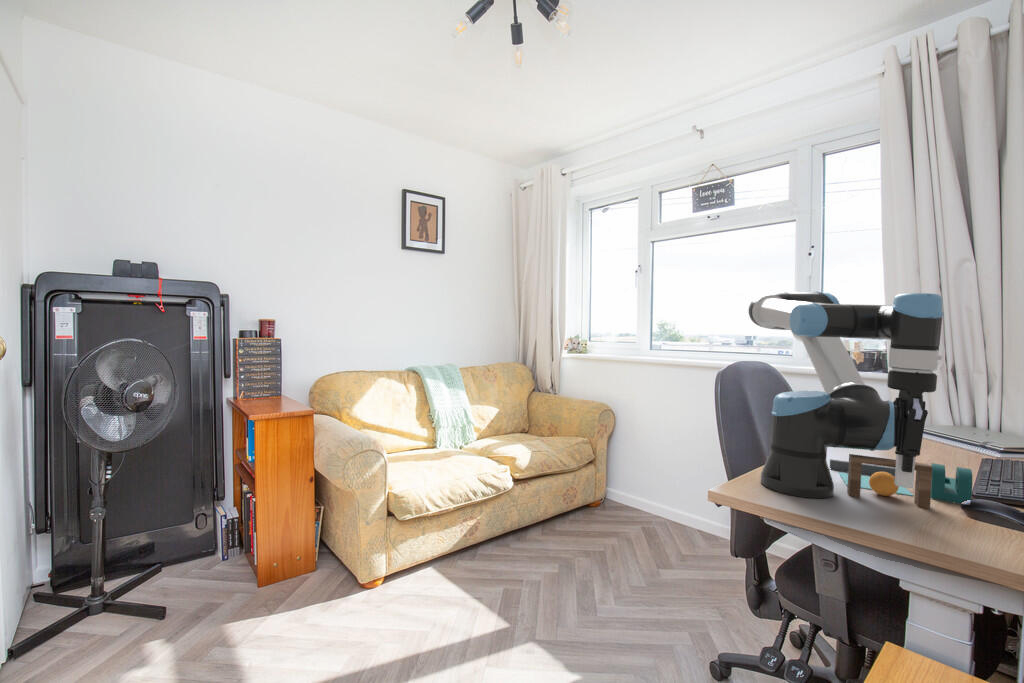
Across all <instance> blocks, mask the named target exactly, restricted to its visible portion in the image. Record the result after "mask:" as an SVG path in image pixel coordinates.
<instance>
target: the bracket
mask: <svg viewBox="0 0 1024 683" xmlns="http://www.w3.org/2000/svg"><path fill="white" fill-rule="evenodd" d="M930 466H932V483H931V498H933V499H932V500H936V499H938V500H937V501H941V500H943V501H942V502H946V501H948V502H947V503H952V502H955V503H954V504H957V503H959V505H962V504H961V503H962V502H964V501H967V500H971V501H972V498H973V497H972V496H973V471H972V468H967V467H966V468H965V467H960V466H959V467H958V466H957V467H956V469H955V470H956V471H955V478H953V477H950V476H949V477H948V476H946V464H940V463H939V464H938V463H935V462H934V463H933V462H932V463H931V464H930Z"/></svg>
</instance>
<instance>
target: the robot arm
mask: <svg viewBox="0 0 1024 683" xmlns="http://www.w3.org/2000/svg"><path fill="white" fill-rule="evenodd" d="M748 315H749V319H750V320H751V321H752V322H753V324H755V325H757V327H758V326H759V327H761V328H765V329H769V330H770V329H771V330H779V331H780V330H783V331H791V333H792V336H794V339H796V340H797V341H799V342H802V343H803V345H804V348H805V350H806V352H807V355H808V357H809V359H810V362H811V364H812V366H813V368H814V370H815V372H816V375H817V376H818V379H819V382H820V383H821V385H822V388H823V390H824V391H820V390H810V391H809V390H794V391H785V392H781V393H778V394H776V395H775V397H774V398H773V402H772V409H771V412H770V413H771V426H770V427H771V428H770V432H771V433H770V449H769V450H770V451H769V454H768V456H767V459H766V461H765V463H764V466H763V467H762V470H761V473H760V474H761V475H760V483H761V484H762V485H763V486H764V487H766V488H768V489H770V490H774V491H776V492H779V493H782V494H786V495H791V496H794V497H795V496H796V497H801V498H807V499H808V498H811V499H827V498H832V497H833V496H834V492H835V485H834V482H833V478H832V475H831V471H830V468H829V466H828V462H827V457H828V456H827V454H828V453H827V451H828V448H837V449H839V448H840V449H850V450H851V449H853V450H864V451H865V450H867V451H870V452H875V451H890V450H893V449H894V448H895V450H894V453H895V454H894V455H895V456H896V457H895V460H896V468H895V467H894V468H895V481H894V484H895V485H896V486H900V487H905V488H906V489H907V488H908V489H914V485H915V483H914V482H915V472H916V470H915V462H916V457H918V456H920V455H921V449H922V442H923V436H924V429H925V426H926V425H925V423H926V419H927V417H928V414H929V411H928V410H927V409H926V401H925V400H924V399H923V394H924V393H934V392H936V391H937V385H938V384H937V382H938V375H937V373H934V372H935V371H938V367H939V366H938V365H939V364H938V363H939V361H941V360H943V359H942V358H943V356H942V355H940V354H939V352H940V351H939V350H940V344H941V342H940V341H941V335H942V334H941V333H942V324H943V323H942V322H943V316H944V312H943V297H942V296H940V294H937V293H926V292H924V293H923V292H920V293H919V292H917V293H914V292H913V293H899V294H896V295H895V297H894V298H893V301H892V304H888V305H887V304H885V305H884V304H852V303H851V304H846V303H845V304H843V303H840V301H839V300H838V298H837V297H836V296H835V295H833V294H831V293H829V292H821V291H811V292H809V291H783V290H782V291H781V290H780V291H779V290H778V291H776V290H775V291H768V292H764V293H762V294H759V295H758V296H756V297H754V298H753V300H752V301H751V302H750V304H749V306H748ZM841 338H842V339H866V340H878V341H880V340H881V341H882V340H887V341H888V340H889V341H890V346H889V347H890V348H889V351H888V352H889V353H888V354H889V355H888V356H889V357H888V367H889V368H891V369H890V370H889V371H888V373H887V388H889V389H892V390H896V391H899V392H898V397H895V399H894V401H891V400H883V399H882V397H881V396H880V394H879V392H878V390H876V388H874V387H872V385H868V384H865V381H864V380H863V378H862V376H861V375H860V372H859V371H858V369H857V367H856V364H855V363H854V361H853V360H852V357H851V356H850V354H849V352H848V350H847V348H846V346H845V345H844V343H843V341H842V339H841Z"/></svg>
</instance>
